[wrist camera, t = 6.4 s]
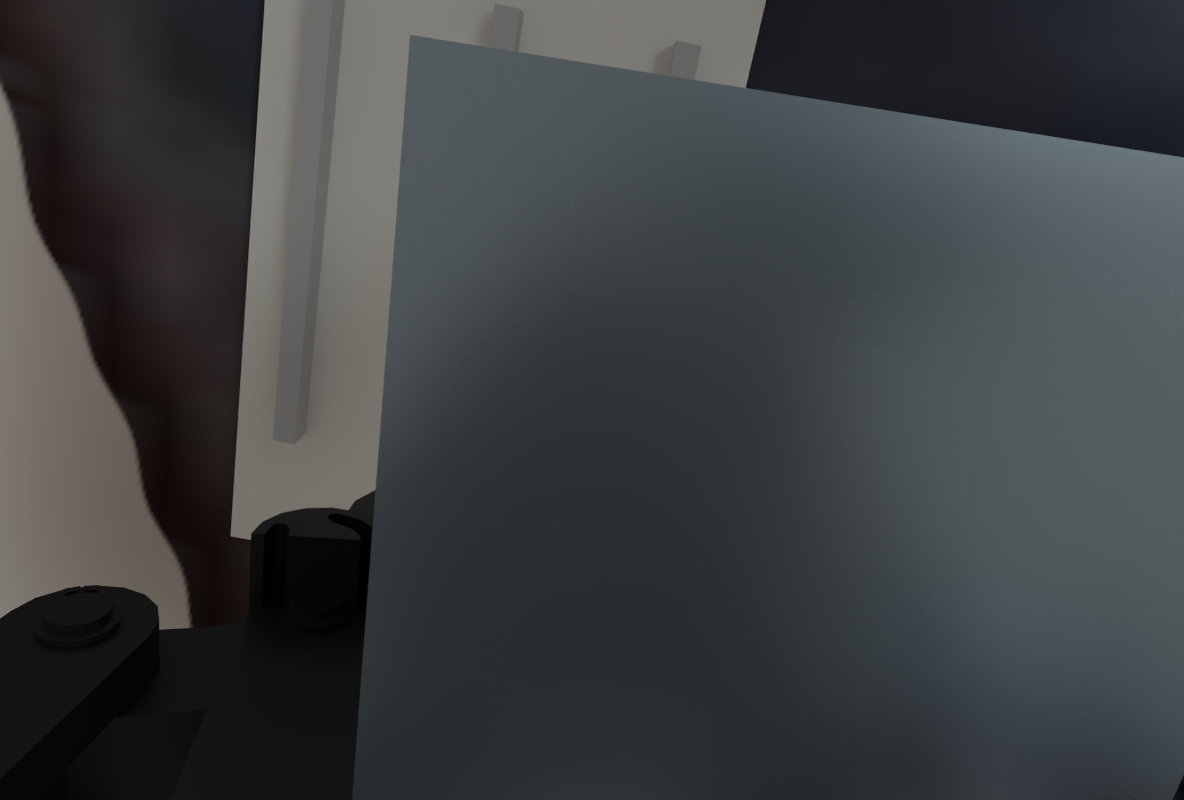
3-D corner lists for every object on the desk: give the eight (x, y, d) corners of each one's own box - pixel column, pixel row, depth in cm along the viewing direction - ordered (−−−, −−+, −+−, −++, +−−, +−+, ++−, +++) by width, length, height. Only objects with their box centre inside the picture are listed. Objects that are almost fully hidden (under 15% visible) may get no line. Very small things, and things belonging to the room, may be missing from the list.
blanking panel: (574, 110, 14) (412, 33, 3) (779, 143, 14) (1442, 197, 3) (495, 702, 18) (282, 1719, 6) (657, 725, 18) (732, 1772, 7)
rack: (286, -212, 26) (201, -299, 21) (788, -106, 27) (830, -163, 21) (237, 529, 34) (166, 603, 29) (623, 600, 35) (624, 686, 29)
